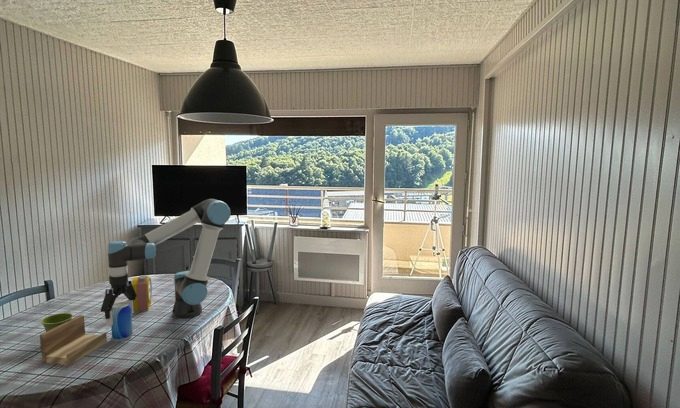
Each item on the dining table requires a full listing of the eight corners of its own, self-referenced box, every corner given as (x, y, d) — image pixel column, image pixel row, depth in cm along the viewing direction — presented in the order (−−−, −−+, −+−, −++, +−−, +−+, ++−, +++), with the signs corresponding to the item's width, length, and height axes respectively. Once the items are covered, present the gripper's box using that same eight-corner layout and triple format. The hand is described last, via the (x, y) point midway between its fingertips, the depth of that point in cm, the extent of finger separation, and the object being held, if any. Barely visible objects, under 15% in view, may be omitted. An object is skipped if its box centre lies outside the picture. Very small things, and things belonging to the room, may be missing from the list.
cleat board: (106, 342, 174) (105, 317, 173) (69, 365, 155) (67, 337, 153) (81, 339, 176) (80, 315, 175) (42, 362, 157) (39, 334, 155)
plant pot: (39, 349, 167) (37, 325, 166) (47, 338, 178) (45, 315, 177) (71, 344, 172) (69, 321, 171) (77, 333, 183) (75, 311, 181)
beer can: (123, 343, 174) (121, 309, 172) (107, 341, 176) (105, 307, 174) (136, 334, 182) (134, 302, 180) (121, 333, 184) (119, 301, 182)
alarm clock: (149, 311, 210) (147, 279, 208) (132, 313, 207) (130, 280, 205) (152, 301, 224) (151, 271, 222) (136, 303, 221) (135, 272, 219)
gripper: (130, 266, 188) (131, 308, 190) (89, 282, 163) (91, 329, 166) (143, 267, 187) (145, 309, 189) (105, 283, 162) (107, 331, 165)
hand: (120, 319), depth 177 cm, fingers open, 13 cm apart
